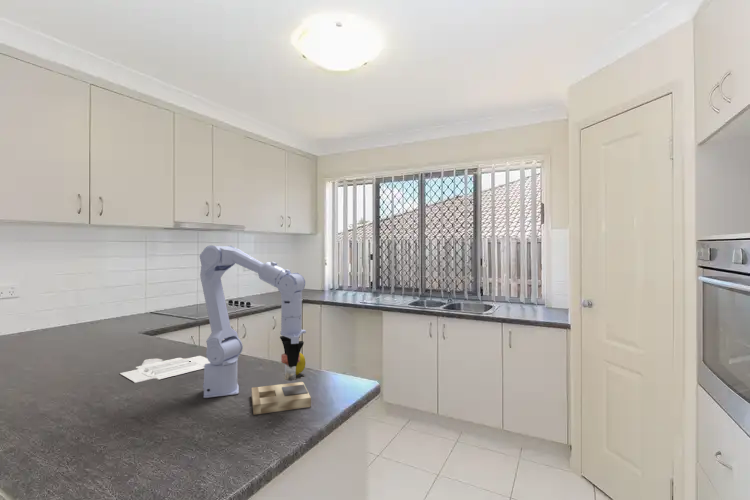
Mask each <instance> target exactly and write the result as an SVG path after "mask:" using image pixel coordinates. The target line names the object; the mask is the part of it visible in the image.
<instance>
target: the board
mask: <svg viewBox="0 0 750 500" xmlns="http://www.w3.org/2000/svg"><path fill="white" fill-rule="evenodd" d="M251 406H252V412H253V414H252V415H255V416H256V415H262V414H268V413H275V412H276V413H277V412H283V411H289V410H298V409H303V408H304V409H305V408H312V397H311V395H310V393H309V390H308V389H307V387H306V385H305V383H304V382H303V381H298V382H289V383H281V384H271V385H265V386H256V387H254V386H253V387H251Z"/></svg>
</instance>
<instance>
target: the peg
mask: <svg viewBox="0 0 750 500" xmlns="http://www.w3.org/2000/svg"><path fill="white" fill-rule="evenodd" d="M280 357H281V361H280V362H281V363H282V364H284V380H285V381H290V382H291V381H295V380H296V376H297V375H296V366H294V367H289V365H288V360H287V353H285V352H284V353H282V354H281V356H280ZM298 362H300V354H299V358H298Z"/></svg>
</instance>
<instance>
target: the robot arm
mask: <svg viewBox="0 0 750 500" xmlns="http://www.w3.org/2000/svg"><path fill="white" fill-rule="evenodd" d="M199 260H200V264H201V266H200V272H199V273H200V275H199V276H200V282H201V285H202V287H201V288H202V292H203V296H204V302H205V305H206V306H205V307H206V311H207V315H208V320H209V321H208V322H209V325H210V331H211V332H210V334H209V336H208V338H207V339H206V342H205V343H206V350H205V352H206V353H205V356H206V358H207V359H208V361H209V362H210V363H208V364H205V366H203V367H204V368H203V384H202V385H203V386H202V389H203V398H204V399H208V398H216V397H224V396H225V397H226V396H234V395H238V394H239V393H240V392H239V388H240V387H239V383H238V360H239V355H240V354H241V353H242V352H243V346H244V345H243V342H242V340H241V339H240V337H239V335H238V334H239V333H238V332H237V331H236V330H235V329H233V328H232V327H231V321H230V317H229V311H228V308H227V303H226V297H225V293H224V292H225V291H224V288H223V283H222V277H223V275H224V274H225V272H227V271H228V270H230V269H231V268H232V267H233V266H235V265H238V266H241V267H242V268H245V269H248V270H250V271H252V272H254V273H256V274H258V278H259V279H260V280H261V281H263V282H265V283H267V284H269V285H271V286H273V287H275V288H277V290H278V292H279V293H280V300H281V304H280V305H281V309H280V311H281V312H280V313H281V318H280V319H281V320H280V322H281V323H280V328H281V329H280V335H279V339H280V341H281V343H282V346H283V352H284V353H287V360H288V365H289V367H294V366H297V363H298V358H299V353H301V350H302V347H303V346H304V343H305V341H303V340H300V337H301V336H302V334H306V333H307V330H306V329H302V325H303V324H302V323H303V316H302V314H303V310H302V309H303V306H302V305H303V298H302V297H303V296H302V295H303V291H304V289H305V286H306V280H305V277H304V276H303V275H302V274H301V273H299V272H291V270H290V269H289V268H286V269H285V268H283V267H281V266H280V265H278V262H275V261H271V262H270V261H267V262H265V263H264V262H263V261H260V260H259V259H257V258H256V257H253V256H252V255H249V253H246V252H244V251H243V250H242V249H240V248H238V247H235V246H232V245H227V246H224V245H212V244H211V245H207V246H206V247H204V248H203V251H202V252H201V253H200V255H199Z"/></svg>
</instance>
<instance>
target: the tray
mask: <svg viewBox="0 0 750 500" xmlns="http://www.w3.org/2000/svg"><path fill="white" fill-rule="evenodd" d="M189 361H191V362H189ZM208 363H210V362H209V361H208V359H207V357H205V356H203V355H196V356H193V357H187V358H182V357H176V358H171V359H167V360H163V358H162V359H161V358H149V359H145V360H143V362H142V364H141V365H138V366H135V369H133V370H129V371H123V372H120V373H118V374H119V375H121V376H123V377H125V378H127V379H128V380H130V381H132V382H133V383H135V384H136V383H140V382H144V381H145V382H146V381H148V380H152V379H153V380H154V379H155V380H158V381H160V380H163V379H166V378H170V377H174V376H179V375H183V374H186V373H191V372H195V371H200V370H204V367H205V364H208Z"/></svg>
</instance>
